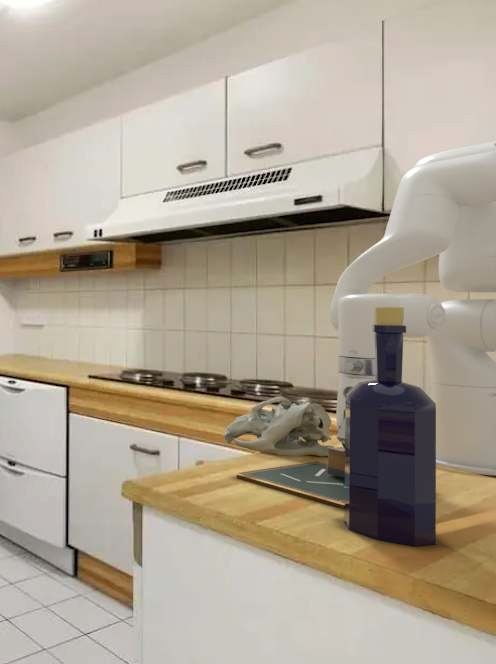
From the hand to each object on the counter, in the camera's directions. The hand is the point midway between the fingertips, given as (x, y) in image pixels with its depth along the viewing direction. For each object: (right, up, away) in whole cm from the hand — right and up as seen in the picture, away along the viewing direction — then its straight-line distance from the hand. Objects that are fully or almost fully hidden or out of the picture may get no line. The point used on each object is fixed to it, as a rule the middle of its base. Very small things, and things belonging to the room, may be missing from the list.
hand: (367, 476), depth 91 cm
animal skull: (+1, -2, +22) cm, 22 cm away
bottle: (-14, -2, -18) cm, 23 cm away
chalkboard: (-5, -2, +1) cm, 6 cm away
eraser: (0, -1, 0) cm, 1 cm away
